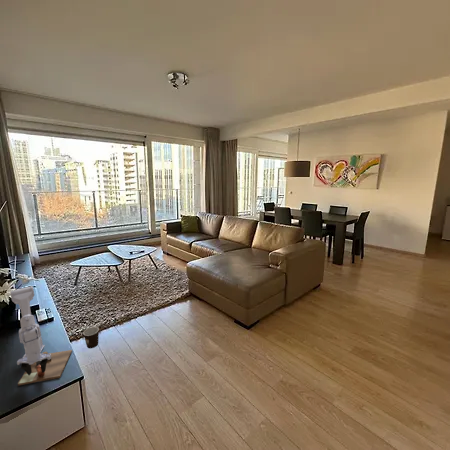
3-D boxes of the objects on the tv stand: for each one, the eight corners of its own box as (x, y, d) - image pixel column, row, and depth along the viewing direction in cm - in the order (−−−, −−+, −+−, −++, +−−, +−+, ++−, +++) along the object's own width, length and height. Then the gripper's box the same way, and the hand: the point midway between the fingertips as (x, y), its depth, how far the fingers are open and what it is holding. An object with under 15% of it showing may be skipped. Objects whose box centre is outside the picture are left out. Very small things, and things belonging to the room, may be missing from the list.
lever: (36, 362, 139) (34, 354, 138) (51, 356, 143) (50, 349, 142) (36, 378, 128) (35, 369, 127) (52, 371, 133) (51, 363, 131)
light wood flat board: (35, 357, 144) (34, 350, 143) (72, 351, 149) (71, 344, 148) (17, 385, 125) (16, 378, 124) (60, 378, 130) (58, 370, 129)
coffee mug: (102, 345, 155) (100, 331, 153) (87, 351, 149) (85, 337, 147) (96, 336, 163) (94, 323, 161) (81, 342, 157) (80, 328, 155)
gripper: (11, 358, 121) (16, 381, 124) (45, 353, 125) (49, 375, 128) (19, 349, 127) (23, 371, 130) (51, 344, 131) (54, 365, 134)
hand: (37, 372), depth 129 cm, fingers open, 6 cm apart
